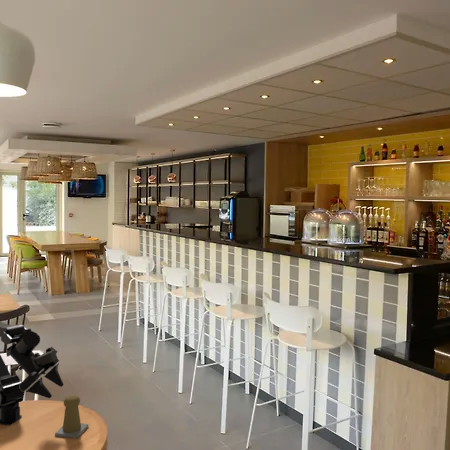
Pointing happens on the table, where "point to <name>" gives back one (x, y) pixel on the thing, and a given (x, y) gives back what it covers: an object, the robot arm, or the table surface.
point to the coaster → (72, 434)
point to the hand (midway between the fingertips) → (56, 391)
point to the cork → (71, 414)
